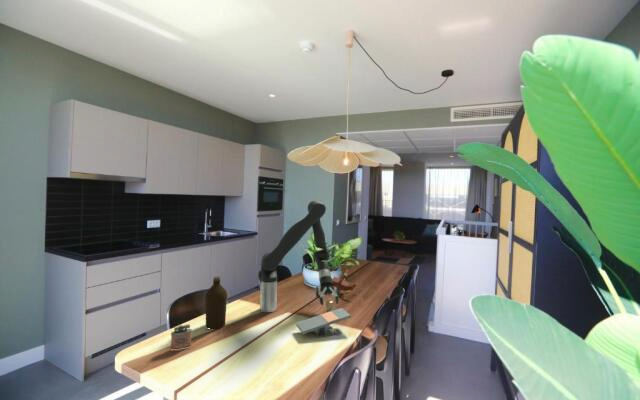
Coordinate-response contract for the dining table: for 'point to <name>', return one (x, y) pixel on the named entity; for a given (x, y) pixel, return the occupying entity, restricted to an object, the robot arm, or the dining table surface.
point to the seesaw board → (322, 320)
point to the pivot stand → (325, 332)
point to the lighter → (181, 337)
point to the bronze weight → (329, 305)
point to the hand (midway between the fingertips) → (329, 304)
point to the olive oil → (215, 305)
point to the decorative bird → (343, 283)
